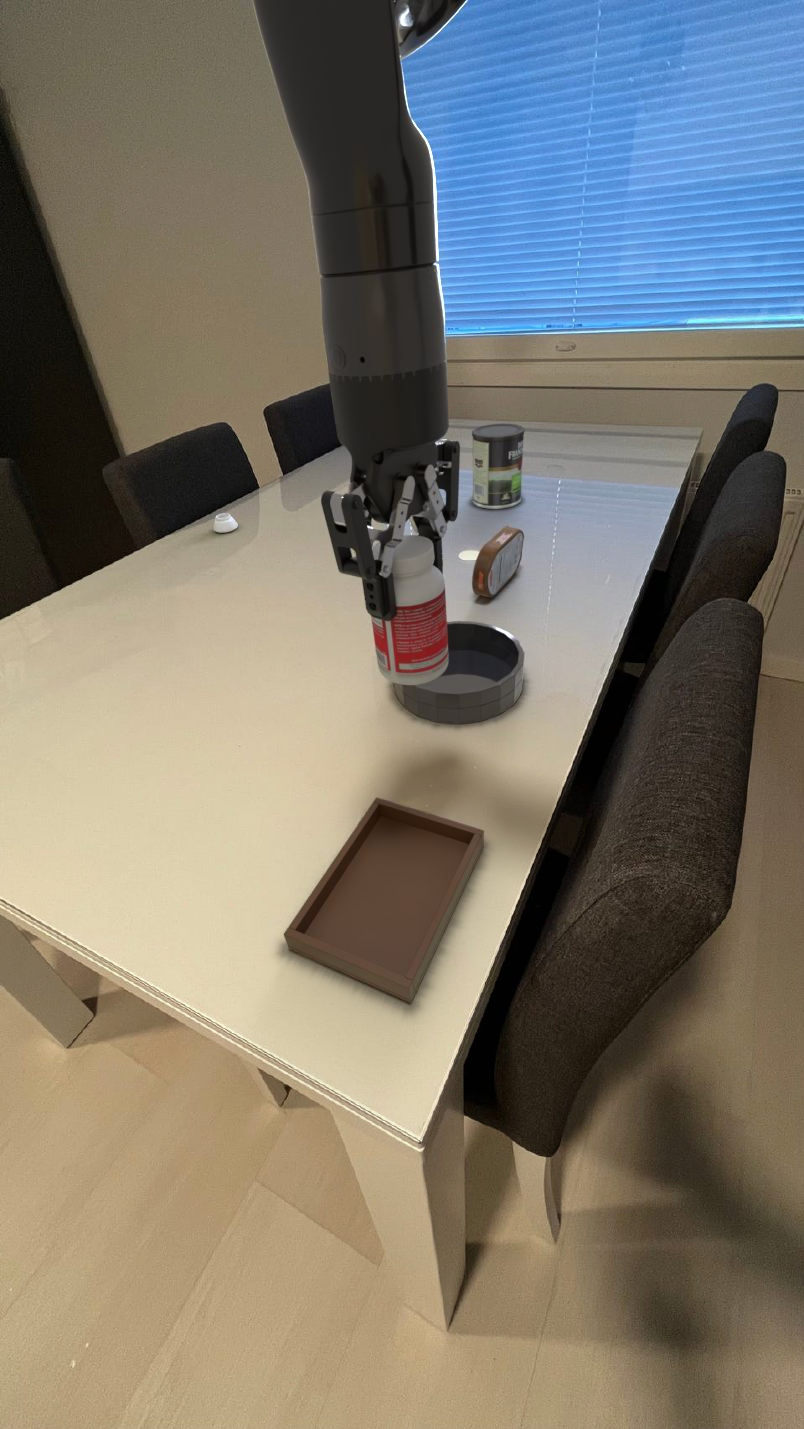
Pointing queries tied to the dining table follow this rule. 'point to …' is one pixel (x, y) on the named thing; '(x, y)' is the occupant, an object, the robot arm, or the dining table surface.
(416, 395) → the robot arm
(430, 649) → the pill bottle
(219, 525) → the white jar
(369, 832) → the tray
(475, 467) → the coffee can
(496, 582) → the tin
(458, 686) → the bowl
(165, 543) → the dining table surface
